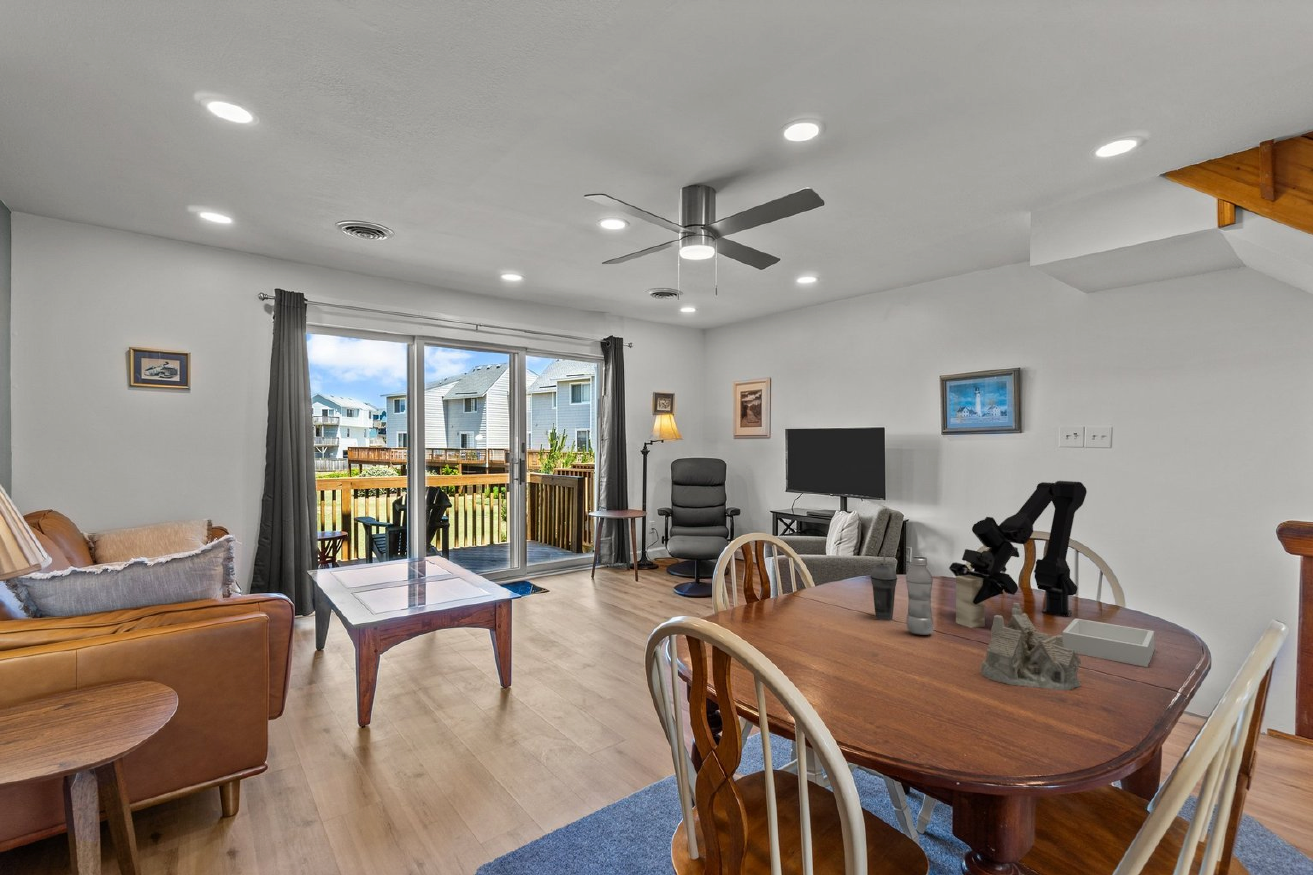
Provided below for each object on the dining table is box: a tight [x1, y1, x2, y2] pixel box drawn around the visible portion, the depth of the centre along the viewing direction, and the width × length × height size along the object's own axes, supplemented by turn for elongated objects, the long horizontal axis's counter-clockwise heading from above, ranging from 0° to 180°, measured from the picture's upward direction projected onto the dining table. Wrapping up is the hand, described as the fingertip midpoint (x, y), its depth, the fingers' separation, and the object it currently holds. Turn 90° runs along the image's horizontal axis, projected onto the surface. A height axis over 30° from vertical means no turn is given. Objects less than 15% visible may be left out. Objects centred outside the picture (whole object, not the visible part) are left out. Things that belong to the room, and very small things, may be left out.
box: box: [1062, 618, 1155, 668], centre depth 148 cm, size 16×16×4 cm
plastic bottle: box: [905, 556, 935, 636], centre depth 161 cm, size 6×7×20 cm
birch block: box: [955, 575, 986, 629], centre depth 169 cm, size 5×5×13 cm
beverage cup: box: [870, 548, 898, 621], centre depth 176 cm, size 7×7×20 cm
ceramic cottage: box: [979, 602, 1081, 691], centre depth 130 cm, size 16×16×15 cm
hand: (965, 600), depth 169 cm, fingers closed on birch block, 5 cm apart
